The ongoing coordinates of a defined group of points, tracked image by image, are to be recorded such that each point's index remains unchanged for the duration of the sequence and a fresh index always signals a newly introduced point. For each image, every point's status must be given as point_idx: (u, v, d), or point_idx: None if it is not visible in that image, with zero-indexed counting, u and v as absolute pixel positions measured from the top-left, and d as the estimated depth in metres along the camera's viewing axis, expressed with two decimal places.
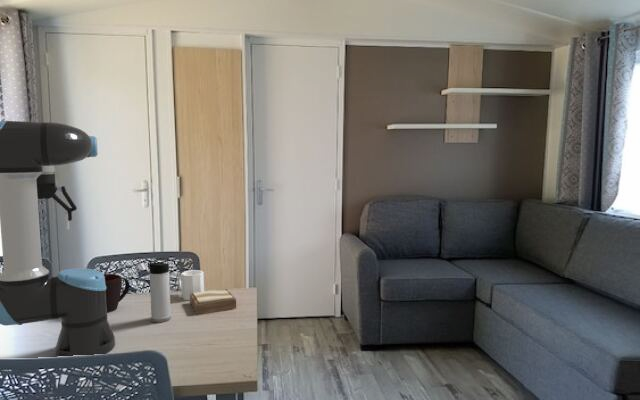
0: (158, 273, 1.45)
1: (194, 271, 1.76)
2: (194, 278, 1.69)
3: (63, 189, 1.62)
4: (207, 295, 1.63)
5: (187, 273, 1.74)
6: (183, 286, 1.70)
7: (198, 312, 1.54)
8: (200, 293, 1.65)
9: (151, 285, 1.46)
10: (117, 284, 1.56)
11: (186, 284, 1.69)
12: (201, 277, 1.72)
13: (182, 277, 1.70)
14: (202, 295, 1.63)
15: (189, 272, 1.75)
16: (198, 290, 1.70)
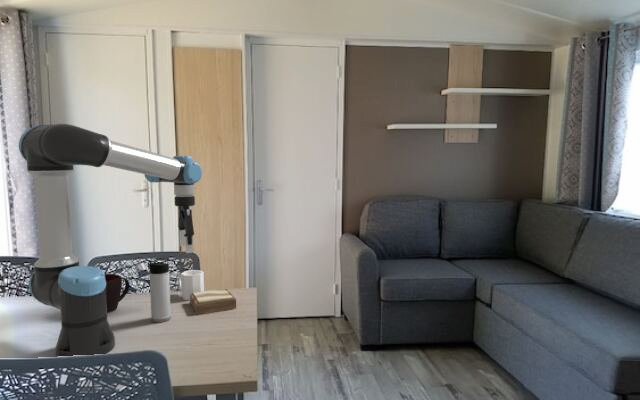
0: (158, 273, 1.45)
1: (194, 271, 1.76)
2: (194, 278, 1.69)
3: (184, 213, 1.64)
4: (207, 295, 1.63)
5: (187, 273, 1.74)
6: (183, 286, 1.70)
7: (198, 312, 1.54)
8: (200, 293, 1.65)
9: (151, 285, 1.46)
10: (117, 284, 1.56)
11: (186, 284, 1.69)
12: (201, 277, 1.72)
13: (182, 277, 1.70)
14: (202, 295, 1.63)
15: (189, 272, 1.75)
16: (198, 290, 1.70)
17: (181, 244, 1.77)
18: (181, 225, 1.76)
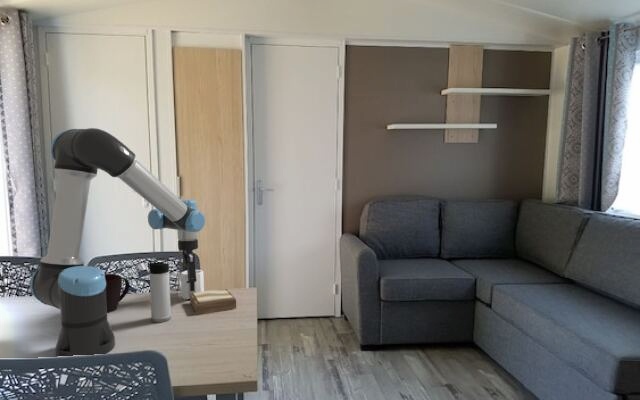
0: (158, 273, 1.45)
1: None
2: None
3: (188, 259, 1.66)
4: (207, 295, 1.63)
5: (187, 273, 1.75)
6: (183, 285, 1.70)
7: (198, 312, 1.54)
8: (200, 293, 1.65)
9: (151, 285, 1.46)
10: (117, 284, 1.56)
11: (186, 283, 1.69)
12: (201, 277, 1.72)
13: (182, 276, 1.71)
14: (202, 295, 1.63)
15: None
16: (198, 289, 1.71)
17: None
18: (185, 270, 1.77)
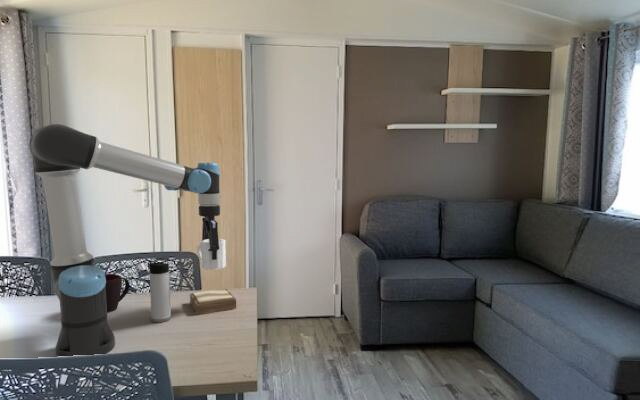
0: (158, 273, 1.45)
1: None
2: None
3: (210, 225, 1.54)
4: (207, 295, 1.63)
5: (208, 241, 1.63)
6: (204, 254, 1.58)
7: (198, 312, 1.54)
8: (200, 293, 1.65)
9: (151, 285, 1.46)
10: (117, 284, 1.56)
11: (207, 252, 1.58)
12: (223, 246, 1.61)
13: (203, 245, 1.59)
14: (202, 295, 1.63)
15: None
16: (220, 259, 1.59)
17: None
18: (205, 238, 1.65)
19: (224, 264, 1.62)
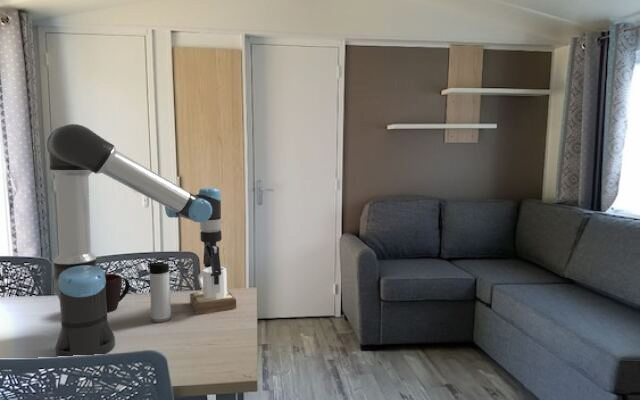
0: (158, 273, 1.45)
1: None
2: None
3: (211, 250, 1.55)
4: None
5: (208, 270, 1.63)
6: (205, 283, 1.59)
7: (198, 312, 1.54)
8: (200, 293, 1.65)
9: (151, 285, 1.46)
10: (117, 284, 1.56)
11: (209, 282, 1.58)
12: (224, 274, 1.61)
13: (204, 274, 1.59)
14: (202, 295, 1.63)
15: (211, 269, 1.64)
16: (221, 288, 1.60)
17: None
18: (207, 261, 1.66)
19: (225, 292, 1.62)
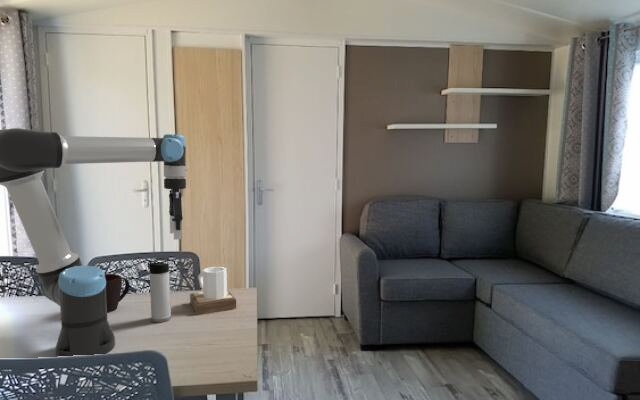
0: (158, 273, 1.45)
1: (216, 268, 1.65)
2: (218, 276, 1.58)
3: (173, 195, 1.52)
4: None
5: (209, 270, 1.63)
6: (206, 283, 1.59)
7: (198, 312, 1.54)
8: (200, 293, 1.65)
9: (151, 285, 1.46)
10: (117, 284, 1.56)
11: (209, 282, 1.58)
12: (224, 274, 1.61)
13: (204, 274, 1.59)
14: (202, 295, 1.63)
15: (211, 269, 1.64)
16: (221, 288, 1.60)
17: (171, 231, 1.65)
18: (171, 210, 1.64)
19: (225, 293, 1.62)
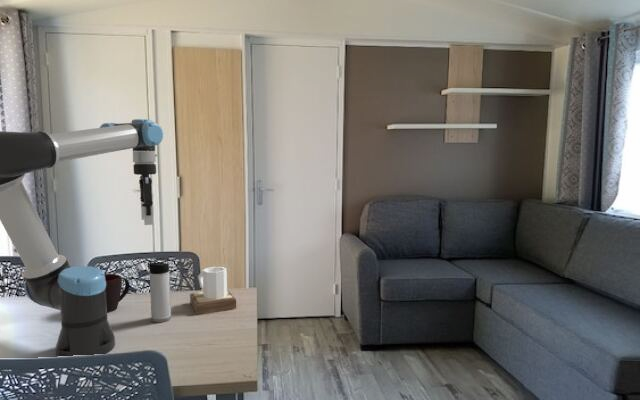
0: (158, 273, 1.45)
1: (216, 268, 1.65)
2: (218, 276, 1.58)
3: (143, 181, 1.51)
4: None
5: (209, 270, 1.63)
6: (206, 283, 1.59)
7: (198, 312, 1.54)
8: (200, 293, 1.65)
9: (151, 285, 1.46)
10: (117, 284, 1.56)
11: (209, 282, 1.58)
12: (224, 274, 1.61)
13: (204, 274, 1.59)
14: (202, 295, 1.63)
15: (211, 269, 1.64)
16: (221, 288, 1.60)
17: (143, 217, 1.64)
18: (142, 196, 1.63)
19: (225, 293, 1.62)
